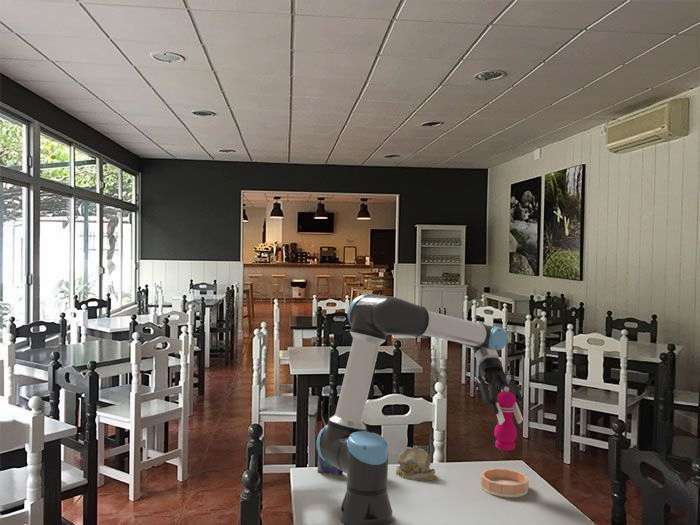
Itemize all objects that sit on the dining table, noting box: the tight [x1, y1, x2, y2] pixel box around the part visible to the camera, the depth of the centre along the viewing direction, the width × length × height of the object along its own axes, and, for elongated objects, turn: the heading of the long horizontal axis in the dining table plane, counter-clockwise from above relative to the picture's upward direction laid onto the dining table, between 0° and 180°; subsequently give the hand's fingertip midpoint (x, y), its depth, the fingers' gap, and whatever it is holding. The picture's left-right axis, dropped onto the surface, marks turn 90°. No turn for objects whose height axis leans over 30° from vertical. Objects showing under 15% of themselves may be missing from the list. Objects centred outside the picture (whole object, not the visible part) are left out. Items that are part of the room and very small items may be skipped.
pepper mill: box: [493, 387, 518, 451], centre depth 198 cm, size 7×7×20 cm
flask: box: [316, 452, 344, 476], centre depth 209 cm, size 9×3×11 cm, turn 72°
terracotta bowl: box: [479, 467, 530, 499], centre depth 198 cm, size 15×15×4 cm
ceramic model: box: [395, 445, 436, 482], centre depth 210 cm, size 14×11×10 cm
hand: (511, 421), depth 195 cm, fingers closed on pepper mill, 6 cm apart
